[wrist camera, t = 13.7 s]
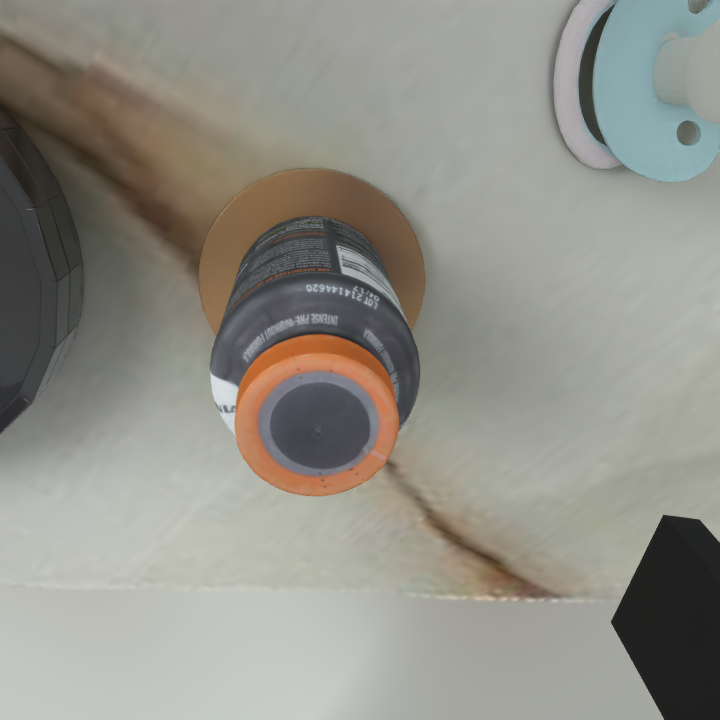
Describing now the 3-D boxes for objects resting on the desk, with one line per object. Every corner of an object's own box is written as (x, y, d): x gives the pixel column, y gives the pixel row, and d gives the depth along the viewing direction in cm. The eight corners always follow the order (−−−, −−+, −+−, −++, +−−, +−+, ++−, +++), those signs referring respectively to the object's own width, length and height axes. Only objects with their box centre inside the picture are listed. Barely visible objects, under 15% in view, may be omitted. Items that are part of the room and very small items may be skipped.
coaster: (189, 363, 27) (186, 369, 27) (214, 145, 24) (212, 146, 23) (395, 396, 28) (396, 402, 28) (447, 193, 25) (450, 195, 24)
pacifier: (546, 184, 25) (698, 166, 25) (608, 216, 20) (804, 194, 20) (549, -31, 22) (721, -51, 22) (624, -67, 17) (855, -93, 17)
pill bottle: (238, 354, 26) (192, 532, 16) (236, 209, 24) (181, 309, 14) (382, 358, 27) (426, 533, 17) (394, 217, 25) (454, 319, 14)
